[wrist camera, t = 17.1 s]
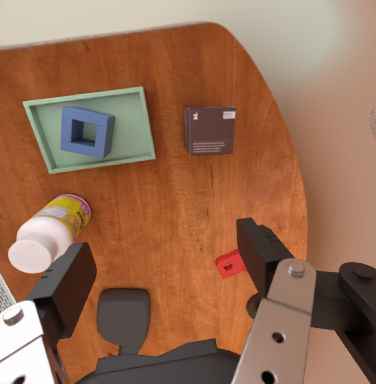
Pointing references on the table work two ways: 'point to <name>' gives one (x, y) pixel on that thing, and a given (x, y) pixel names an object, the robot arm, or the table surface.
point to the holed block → (74, 131)
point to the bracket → (235, 262)
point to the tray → (94, 128)
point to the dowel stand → (253, 305)
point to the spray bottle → (124, 318)
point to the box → (209, 130)
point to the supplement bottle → (49, 233)
